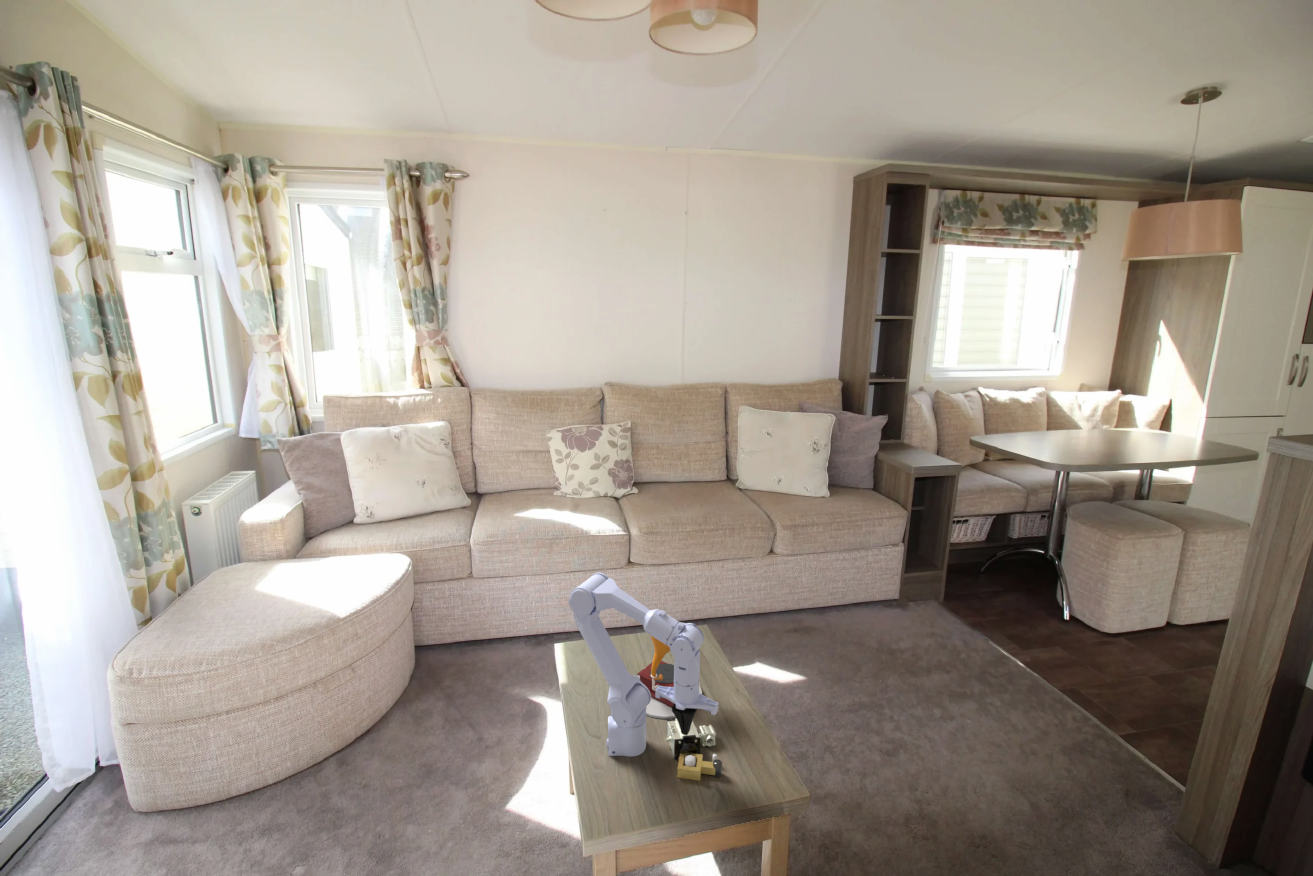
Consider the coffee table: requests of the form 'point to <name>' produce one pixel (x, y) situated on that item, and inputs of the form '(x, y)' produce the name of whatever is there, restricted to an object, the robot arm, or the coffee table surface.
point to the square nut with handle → (698, 767)
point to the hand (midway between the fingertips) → (685, 731)
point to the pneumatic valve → (688, 738)
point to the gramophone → (659, 682)
